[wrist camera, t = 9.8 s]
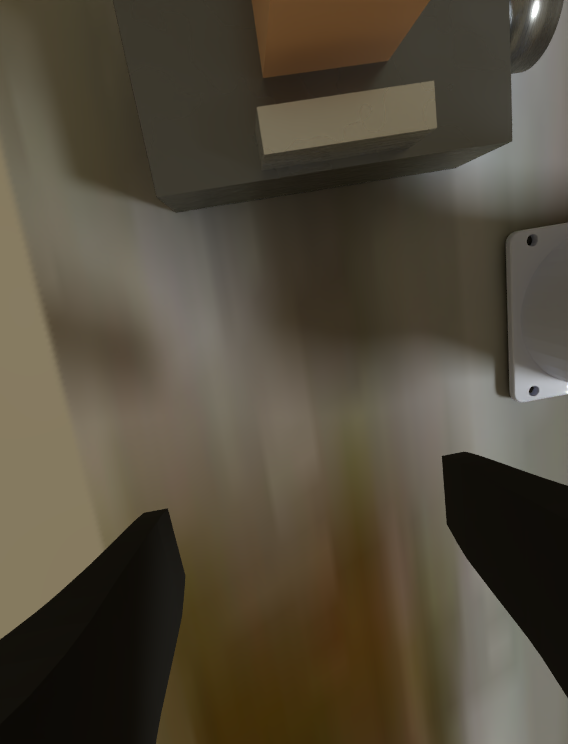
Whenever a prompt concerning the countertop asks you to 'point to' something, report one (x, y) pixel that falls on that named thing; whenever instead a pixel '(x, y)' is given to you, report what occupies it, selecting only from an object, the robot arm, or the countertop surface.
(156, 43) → the grey plate with rails
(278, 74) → the tan single stud brick
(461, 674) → the countertop surface
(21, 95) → the countertop surface
